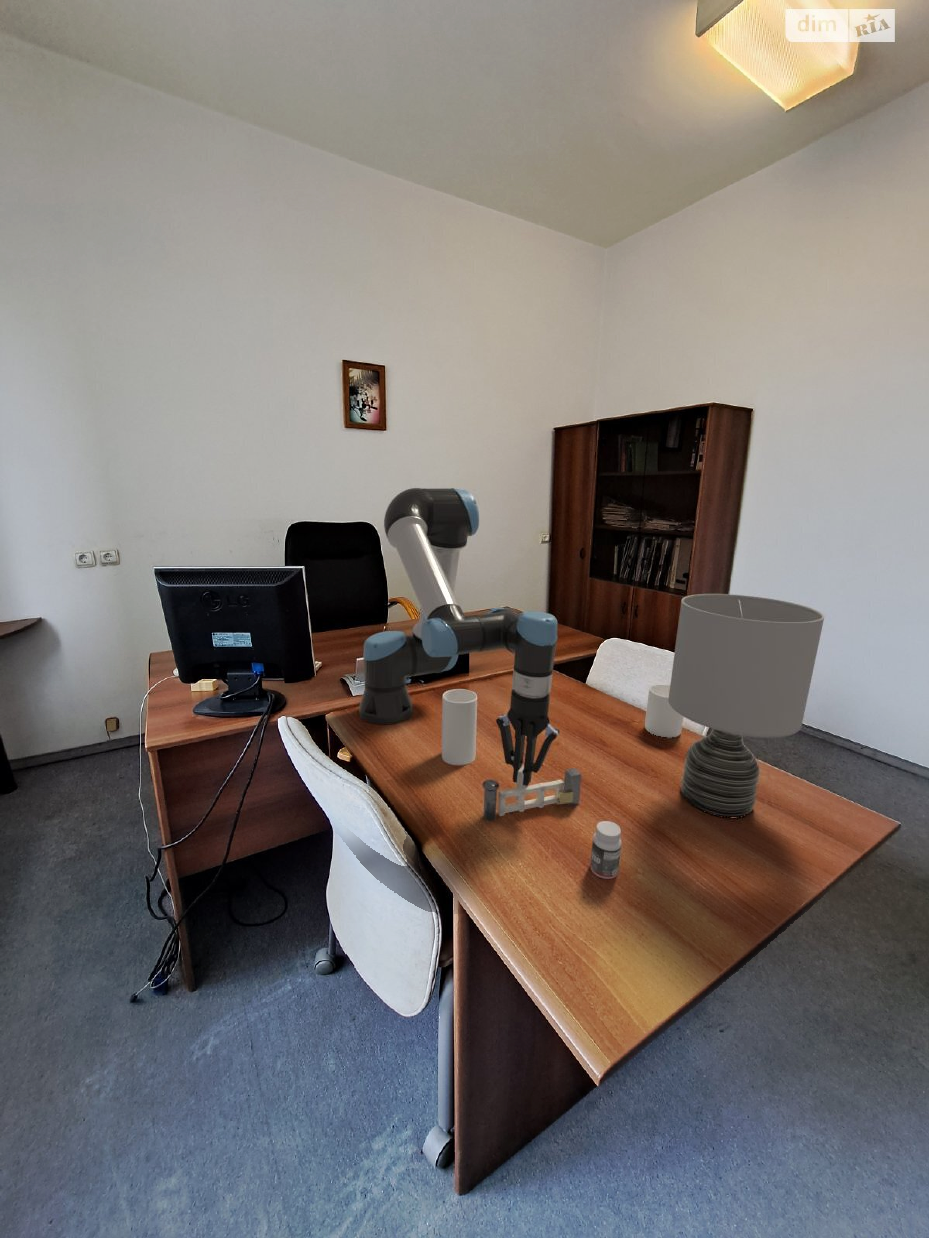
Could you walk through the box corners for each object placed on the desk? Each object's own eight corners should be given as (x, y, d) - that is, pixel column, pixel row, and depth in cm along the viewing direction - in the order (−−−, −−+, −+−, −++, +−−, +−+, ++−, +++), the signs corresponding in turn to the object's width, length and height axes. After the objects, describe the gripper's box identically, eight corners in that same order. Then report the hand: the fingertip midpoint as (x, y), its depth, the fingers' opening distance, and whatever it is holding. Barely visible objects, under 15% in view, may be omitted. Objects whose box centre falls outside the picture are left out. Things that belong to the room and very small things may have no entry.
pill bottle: (586, 860, 89) (590, 819, 87) (612, 859, 89) (616, 818, 87) (595, 880, 85) (599, 837, 82) (622, 879, 85) (627, 836, 83)
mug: (658, 740, 132) (664, 699, 129) (631, 721, 143) (636, 682, 140) (688, 736, 135) (694, 696, 132) (659, 717, 146) (664, 679, 143)
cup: (472, 767, 118) (473, 704, 114) (438, 763, 119) (438, 700, 115) (478, 750, 126) (479, 690, 122) (446, 746, 127) (447, 687, 123)
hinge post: (479, 813, 101) (480, 781, 99) (494, 810, 102) (495, 778, 100) (484, 823, 98) (486, 790, 96) (500, 820, 99) (501, 787, 97)
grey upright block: (552, 801, 106) (554, 771, 104) (573, 797, 107) (575, 768, 105) (559, 810, 103) (561, 779, 101) (580, 805, 104) (583, 775, 103)
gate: (500, 816, 100) (501, 794, 99) (497, 812, 101) (498, 790, 100) (562, 803, 105) (563, 782, 103) (559, 800, 106) (560, 779, 104)
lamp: (731, 851, 92) (772, 629, 81) (633, 784, 113) (655, 599, 102) (807, 815, 103) (852, 614, 92) (705, 759, 123) (732, 590, 113)
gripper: (493, 689, 97) (484, 796, 103) (556, 705, 92) (543, 816, 98) (508, 678, 104) (499, 778, 110) (567, 692, 99) (554, 797, 105)
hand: (520, 796), depth 104 cm, fingers closed
